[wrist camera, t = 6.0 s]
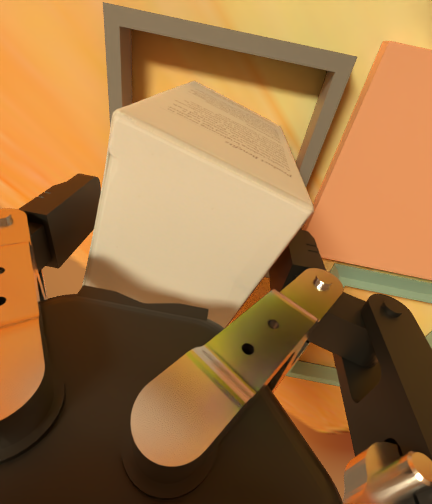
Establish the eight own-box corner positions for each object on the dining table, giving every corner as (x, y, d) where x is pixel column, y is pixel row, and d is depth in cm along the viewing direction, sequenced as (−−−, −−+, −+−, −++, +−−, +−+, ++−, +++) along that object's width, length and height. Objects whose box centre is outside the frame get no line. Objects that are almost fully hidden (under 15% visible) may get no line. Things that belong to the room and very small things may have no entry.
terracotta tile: (629, 94, 13) (649, 96, 12) (454, 278, 20) (461, 286, 19) (382, 41, 13) (389, 40, 12) (295, 246, 20) (296, 252, 19)
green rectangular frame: (481, 293, 21) (495, 308, 19) (386, 382, 29) (391, 396, 27) (334, 263, 20) (339, 276, 19) (279, 361, 28) (280, 374, 27)
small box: (224, 232, 20) (203, 363, 11) (152, 199, 19) (71, 316, 11) (284, 124, 15) (324, 212, 7) (193, 75, 14) (108, 107, 6)
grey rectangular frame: (347, 56, 13) (357, 56, 12) (269, 265, 21) (270, 278, 20) (116, 7, 13) (102, 2, 12) (125, 235, 21) (117, 246, 20)
